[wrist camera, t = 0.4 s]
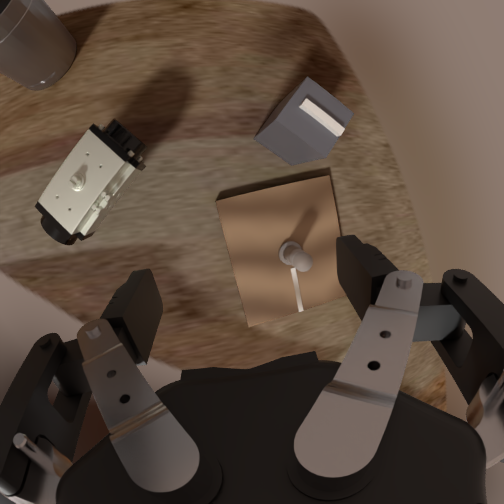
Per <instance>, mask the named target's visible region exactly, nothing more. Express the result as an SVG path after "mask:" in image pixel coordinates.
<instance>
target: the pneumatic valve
mask: <svg viewBox="0 0 504 504" xmlns="http://www.w3.org/2000/svg"><path fill="white" fill-rule="evenodd" d="M104 128H105V127H104V126H103V125H102V124H100V125H99V126H96V125H95V124H92V126H91V127H90V128H89V129H88V131H87V132H86V133H85V134H84V136H83V137H82V138H81V139H80V141H79V142H78V143H77V144H76V146H75V147H74V148H73V150H72V151H71V152H70V154H69V155H68V157H67V158H66V159H65V161H64V162H63V164H62V165H61V166H60V168H59V169H58V171H57V172H56V174H55V175H54V177H53V178H52V180H51V181H50V183H49V184H48V186H47V187H46V189H45V191H44V192H43V194H42V195H41V197H40V199H39V200H38V202H37V204H36V205H35V207H36V208H37V209H38V211H39V212H40V213H41V214H42V215H43V216H42V218H41V225H42V227H43V229H44V230H45V231H46V233H47V234H48V235H49V236H51V237H52V238H53V239H54V240H56V241H58V242H60V243H62V244H65V245H73V244H74V243H75V241H76V240H77V238H79V239H80V240H81V241H82V240H84V239H86V238H88V237H90V236H92V235H93V234H94V232H95V231H96V229H97V228H98V227H99V225H100V224H101V222H102V221H103V220H104V218H105V217H106V216H107V214H108V213H109V212H110V210H111V209H112V208H113V206H114V205H115V204H116V202H117V201H118V200H119V199H120V197H121V196H122V195H123V193H124V192H125V191H126V190H127V188H128V187H129V186H130V185H131V184H132V182H133V181H134V180H135V179H136V177H137V176H138V175H139V174H140V173H141V171H142V170H143V169H144V168H145V167H146V165H144V164H143V162H142V161H141V160H142V159H143V158H142V157H141V156H140V155H141V154H142V153H143V152H144V151H145V150H146V148H147V146H146V145H145V144H144V143H142V142H141V141H140V140H139V139H138V138H137V137H136V136H134V135H133V134H132V133H131V132H130V131H129V130H128V129H126V128H125V127H124V126H123V125H122V124H121V123H119V122H118V121H117V120H116V119H113V120H112V121H111V122H110V123H109V124H108V126H107V127H106V128H105V129H104ZM103 129H104V130H103Z"/></svg>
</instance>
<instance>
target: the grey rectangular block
mask: <svg viewBox="0 0 504 504" xmlns="http://www.w3.org/2000/svg"><path fill="white" fill-rule="evenodd" d="M353 115H354V113H353V112H352V111H350V110H349V109H348V108H347V107H346V106H345V105H343V104H342V103H341V102H340V101H339V100H337V99H336V98H335V97H334V96H332V95H331V94H330V93H329V92H327V91H326V90H325V89H323V88H322V87H321V86H320V85H318V84H317V83H316V82H314V81H313V80H312V79H310V78H309V77H308V76H307V77H306V78H305V79H304V80H303V81H302V82H301V83H300V84H299V85H298V86H297V87H296V88H295V89H294V90H293V91H291V92H290V93H289V94H288V95H287V96H286V97H285V98H284V99H283V100H282V101H281V102H280V103H279V104H278V106H277V107H276V108H275V110H274V111H273V112H272V114H271V115H270V116H269V118H268V119H267V121H266V122H265V123H264V125H263V126H262V127H261V129H260V130H259V132H258V133H257V134H256V136H255V137H254V140H256V141H257V142H259V143H260V144H262V145H263V146H265V147H266V148H268V149H269V150H270V151H272V152H273V153H275V154H276V155H278V156H279V157H280V158H282V159H283V160H285V161H286V162H287V163H289V164H290V165H291V166H292V165H296V164H300V163H305V162H309V161H314V160H318V159H323V158H326V157H327V155H328V154H329V152H330V151H331V149H332V148H333V146H334V144H335V143H336V141H337V140H338V138H339V137H340V135H341V134H342V133H343V131H344V130H345V127H346V126H347V124H348V122H349V121H350V119H351V118H352V116H353Z"/></svg>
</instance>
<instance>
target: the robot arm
mask: <svg viewBox="0 0 504 504" xmlns="http://www.w3.org/2000/svg"><path fill="white" fill-rule="evenodd" d="M75 55H76V41H75V39H74V38H73V36H72V35H71V34H70V33H69V31H68V30H67V28H66V27H65V26H64V24H63V23H62V22H61V21H60V20H59V18H58V17H57V16H56V15H55V13H54V12H53V11H52V10H51V8H50V7H49V6H48V5H47V4H46V2H45V1H44V0H0V73H1V74H3V75H5V76H7V77H9V78H11V79H12V80H14V81H16V82H18V83H19V84H21V85H23V86H25V87H27V88H29V89H31V90H41V89H44V88H47V87H49V86H51V85H52V84H54V83H55V82H57V81H58V80H59V79H60V78H61V77H62V76H63V75H64V74H65V73H66V71H67V70H68V69H69V67H70V66H71V64H72V62H73V60H74V57H75ZM336 261H337V276H338V280H339V283H340V285H341V287H342V288H343V290H344V292H345V293H346V295H347V297H348V299H349V300H350V302H351V304H352V305H353V307H354V309H355V310H356V312H357V314H358V316H359V317H360V319H361V321H362V323H361V325H360V327H359V329H358V331H357V333H356V335H355V338H354V340H353V342H352V344H351V346H350V348H349V350H348V352H347V354H346V356H345V358H344V360H343V362H342V363H340V362H335V361H326V360H318V358H317V355H316V352H315V351H313V352H308V353H303V354H298V355H292V356H287V357H282V358H279V359H276V360H274V361H271V362H268V363H265V364H262V365H260V366H257V367H254V368H251V369H231V368H217V367H210V368H201V369H190V370H182V374H181V380H179V381H175V382H173V383H170V384H168V385H166V386H164V387H162V388H161V389H159V390H157V391H156V392H154V391H153V390H152V388H151V387H150V385H149V384H148V382H147V381H146V380H145V378H144V377H143V375H142V374H141V372H140V371H139V369H138V368H137V366H136V365H147V361H148V358H149V355H150V351H151V348H152V345H153V341H154V338H155V335H156V332H157V328H158V325H159V322H160V319H161V316H162V312H163V304H162V300H161V297H160V294H159V291H158V288H157V285H156V283H155V280H154V277H153V274H152V272H151V270H150V269H143V270H138V271H133V272H132V273H131V275H130V277H129V278H128V280H127V282H126V283H125V284H123V285H122V286H121V287H120V288H118V289H117V290H116V292H115V293H114V295H113V297H112V299H111V300H110V302H109V304H108V305H107V307H106V309H105V310H104V312H103V314H102V316H101V317H100V319H96V320H93V321H90V322H88V323H86V324H85V325H84V326H82V327H81V329H80V330H79V331H78V333H77V339H75V340H71V341H68V342H65V343H63V342H62V340H61V338H60V336H59V335H58V334H57V333H50V334H47V335H45V336H43V337H41V338H40V339H39V340H37V342H36V343H35V344H34V346H33V347H32V349H31V350H30V352H29V354H28V356H27V357H26V359H25V361H24V362H23V364H22V366H21V368H20V369H19V371H18V373H17V374H16V377H15V378H14V380H13V382H12V384H11V386H10V387H9V389H8V391H7V393H6V395H5V397H4V399H3V401H2V403H1V405H0V493H1V494H2V495H4V496H5V497H7V498H8V499H10V500H12V501H13V502H15V503H16V504H487V499H486V489H485V474H486V469H488V468H489V467H491V466H493V465H494V464H496V463H497V462H499V461H500V462H504V304H503V303H502V302H501V301H500V300H499V299H498V298H497V297H496V296H495V295H494V294H493V293H492V292H491V291H490V290H489V289H488V288H487V287H486V286H485V285H484V284H482V283H481V282H480V281H479V280H478V279H477V278H476V277H475V276H474V275H473V274H471V273H470V272H467V271H465V270H461V269H451V270H448V271H446V272H445V273H444V274H443V279H442V283H423V279H422V278H421V277H420V276H419V275H418V274H416V273H414V272H411V271H404V270H400V271H399V270H398V269H397V268H396V267H395V266H394V265H393V264H392V263H391V262H390V261H389V260H388V259H387V258H386V257H385V256H384V255H383V254H382V253H381V252H380V251H379V250H378V249H377V248H376V247H374V246H372V245H369V244H367V243H366V244H363V243H362V242H361V241H360V240H359V239H358V238H357V237H356V236H355V235H347V236H341V237H337V239H336ZM466 323H467V324H468V325H469V326H470V328H471V330H472V333H473V339H472V338H471V337H470V335H469V334H468V333H467V331H466V330H465V329H464V328H465V325H466ZM416 341H431V343H432V344H433V346H434V348H435V349H436V351H437V352H438V354H439V356H440V357H441V359H442V360H443V362H444V364H445V365H446V367H447V369H448V370H449V372H450V374H451V375H452V377H453V378H454V380H455V382H456V384H457V385H458V387H459V389H460V391H461V393H462V394H463V396H464V398H465V400H466V401H467V404H468V405H469V406H468V408H467V412H466V420H467V422H465V421H463V420H462V419H460V418H457V417H455V416H453V415H450V414H448V413H446V412H444V411H442V410H440V409H437V408H435V407H433V406H431V405H429V404H427V403H425V402H422V401H420V400H418V399H416V398H414V397H412V396H410V395H408V394H406V393H404V392H402V391H400V390H399V388H400V385H401V381H402V378H403V375H404V371H405V368H406V364H407V360H408V356H409V352H410V348H411V344H412V342H416ZM52 381H53V382H54V383H55V385H56V386H57V387H58V388H59V392H58V394H57V397H56V399H55V402H54V405H53V406H52V405H51V404H50V402H49V400H48V396H47V392H48V388H49V386H50V384H51V382H52ZM92 393H93V395H94V398H95V400H96V403H97V405H98V407H99V410H100V412H101V414H102V416H103V418H104V421H105V423H106V425H107V427H108V429H109V432H110V433H109V434H108V435H106V436H105V437H104V438H103V439H102V440H101V441H100V442H99V443H97V444H96V445H95V446H94V447H93V448H92V449H91V450H89V451H88V452H87V453H86V454H85V455H84V456H82V457H81V458H80V459H79V460H78V461H77V462H76V463H74V464H73V465H72V461H73V457H74V453H75V449H76V445H77V441H78V437H79V434H80V430H81V427H82V423H83V420H84V417H85V413H86V410H87V407H88V403H89V400H90V397H91V394H92Z"/></svg>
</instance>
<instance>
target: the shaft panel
mask: <svg viewBox="0 0 504 504" xmlns="http://www.w3.org/2000/svg"><path fill="white" fill-rule="evenodd" d="M216 205H217V209H218V213H219V217H220V221H221V225H222V229H223V233H224V237H225V241H226V245H227V249H228V252H229V256H230V260H231V264H232V268H233V272H234V275H235V279H236V283H237V287H238V290H239V294H240V298H241V301H242V305H243V309H244V312H245V316H246V320H247V323H248V326H249V327H251V326H254V325H258V324H261V323H264V322H268V321H271V320H274V319H277V318H281V317H284V316H287V315H290V314H293V313H296V312H301V311H303V310H306V309H309V308H312V307H315V306H318V305H321V304H324V303H326V302H329V301H332V300H335V299H338V298H341V297H344V296H346V293H345V292H344V290H343V288H342V287H341V285H340V283H339V280H338V276H337V261H336V239H337V237H341V236H340V230H339V224H338V218H337V212H336V207H335V201H334V196H333V191H332V186H331V181H330V176H329V175H326V176H321V177H316V178H311V179H306V180H301V181H297V182H292V183H288V184H283V185H279V186H274V187H270V188H265V189H261V190H257V191H253V192H249V193H244V194H240V195H236V196H232V197H228V198H224V199H220V200H217V201H216Z"/></svg>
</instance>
